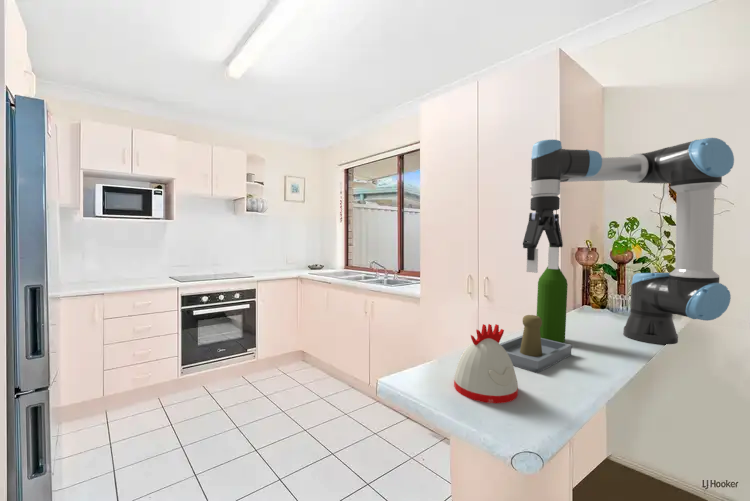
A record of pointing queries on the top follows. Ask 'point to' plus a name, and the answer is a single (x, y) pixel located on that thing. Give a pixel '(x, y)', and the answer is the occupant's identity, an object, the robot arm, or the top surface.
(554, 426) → the top surface
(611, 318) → the top surface
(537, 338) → the cork
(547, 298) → the wine bottle
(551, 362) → the slate tray
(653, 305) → the robot arm
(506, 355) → the kitchen timer
